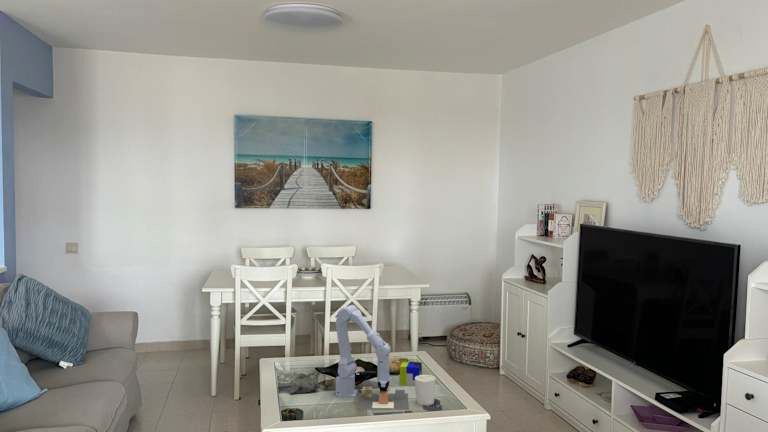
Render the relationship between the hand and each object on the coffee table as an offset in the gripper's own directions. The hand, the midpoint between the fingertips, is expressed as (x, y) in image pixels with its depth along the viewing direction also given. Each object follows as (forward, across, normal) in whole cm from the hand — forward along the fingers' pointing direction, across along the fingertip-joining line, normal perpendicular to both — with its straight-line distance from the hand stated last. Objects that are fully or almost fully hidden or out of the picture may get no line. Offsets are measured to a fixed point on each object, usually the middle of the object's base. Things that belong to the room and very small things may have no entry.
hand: (383, 397), depth 280 cm
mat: (+1, -2, 0) cm, 3 cm away
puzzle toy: (+2, +26, -14) cm, 29 cm away
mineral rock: (+2, +10, +40) cm, 41 cm away
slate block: (+1, +3, -8) cm, 8 cm away
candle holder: (+2, -4, -20) cm, 20 cm away
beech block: (+1, +3, +8) cm, 8 cm away
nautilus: (+2, +45, -10) cm, 46 cm away
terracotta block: (+1, -4, 0) cm, 4 cm away
